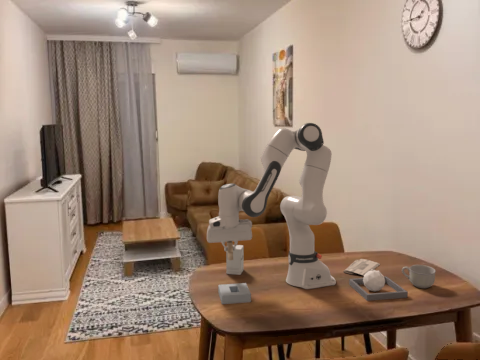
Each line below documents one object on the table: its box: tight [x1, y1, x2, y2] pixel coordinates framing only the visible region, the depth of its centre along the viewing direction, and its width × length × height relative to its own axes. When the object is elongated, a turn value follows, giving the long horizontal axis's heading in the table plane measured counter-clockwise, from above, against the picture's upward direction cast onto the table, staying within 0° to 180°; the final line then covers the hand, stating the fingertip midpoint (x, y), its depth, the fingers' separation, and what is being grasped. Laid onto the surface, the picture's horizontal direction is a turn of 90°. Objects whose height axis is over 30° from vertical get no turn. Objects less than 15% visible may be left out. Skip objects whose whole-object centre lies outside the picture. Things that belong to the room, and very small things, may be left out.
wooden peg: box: [226, 241, 234, 260], centre depth 196 cm, size 2×5×8 cm, turn 10°
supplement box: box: [225, 244, 245, 276], centre depth 213 cm, size 7×7×13 cm
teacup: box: [401, 264, 437, 289], centre depth 196 cm, size 14×11×8 cm
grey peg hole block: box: [217, 282, 252, 305], centre depth 184 cm, size 12×12×4 cm
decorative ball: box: [362, 269, 386, 293], centre depth 191 cm, size 9×10×12 cm
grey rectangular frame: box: [348, 276, 409, 302], centre depth 190 cm, size 18×18×2 cm
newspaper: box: [343, 258, 381, 277], centre depth 218 cm, size 23×12×2 cm, turn 144°
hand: (229, 250), depth 196 cm, fingers closed on wooden peg, 2 cm apart
